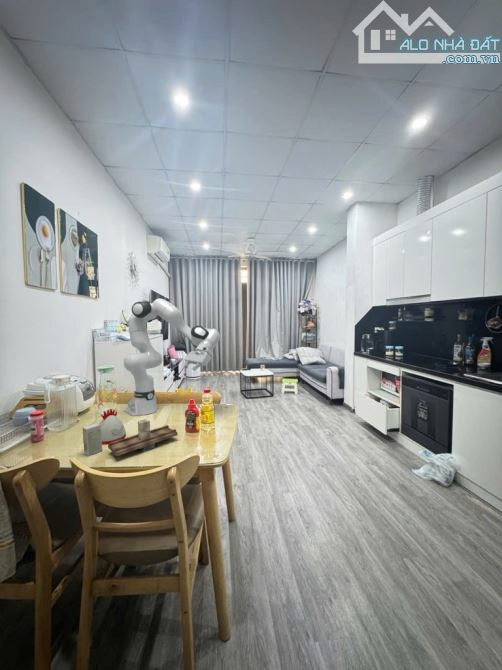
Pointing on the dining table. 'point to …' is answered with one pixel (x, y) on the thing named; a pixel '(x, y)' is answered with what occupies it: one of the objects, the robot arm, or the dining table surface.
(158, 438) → the balance beam
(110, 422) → the grey crested helmet
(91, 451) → the skincare box
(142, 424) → the rider block
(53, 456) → the dining table surface
